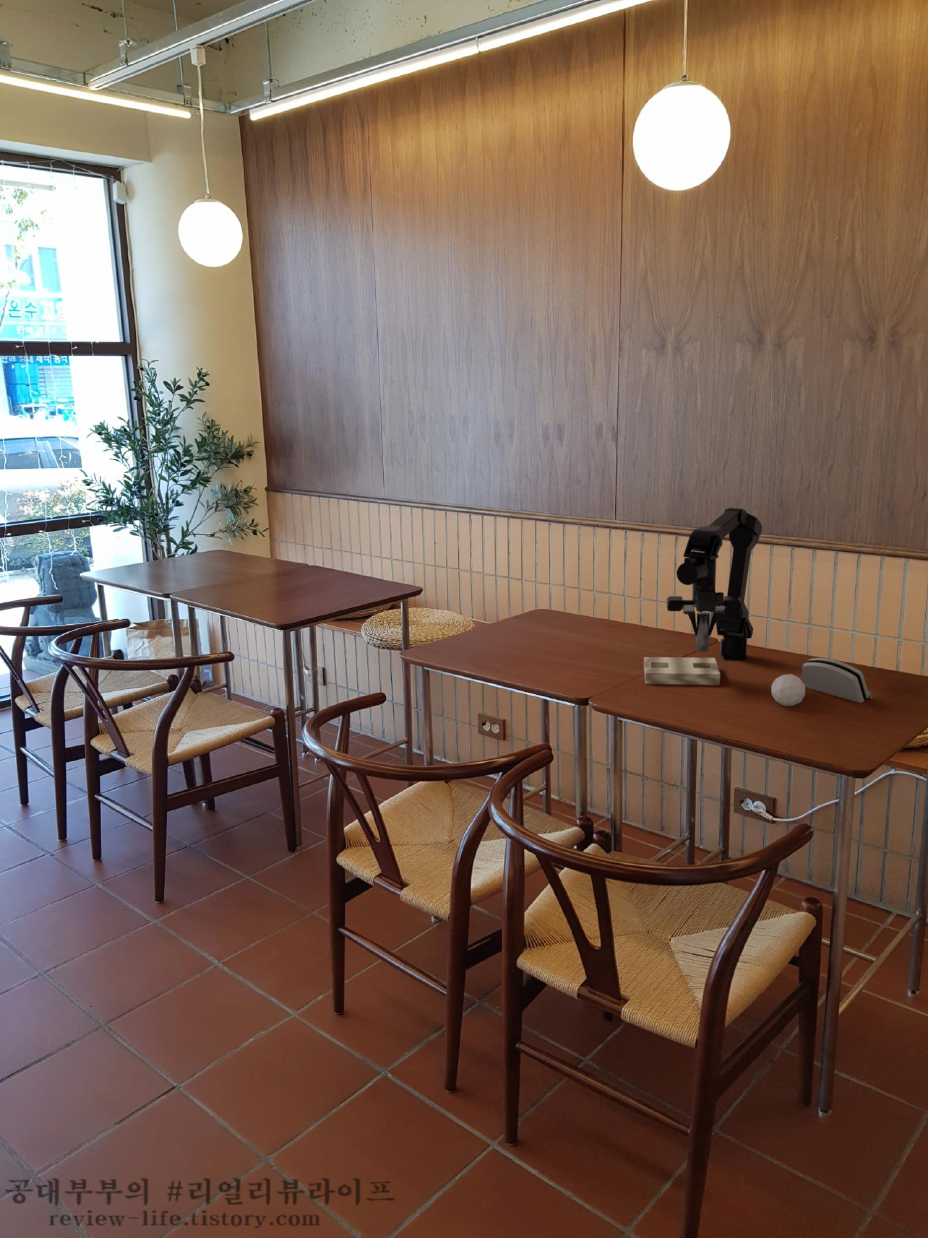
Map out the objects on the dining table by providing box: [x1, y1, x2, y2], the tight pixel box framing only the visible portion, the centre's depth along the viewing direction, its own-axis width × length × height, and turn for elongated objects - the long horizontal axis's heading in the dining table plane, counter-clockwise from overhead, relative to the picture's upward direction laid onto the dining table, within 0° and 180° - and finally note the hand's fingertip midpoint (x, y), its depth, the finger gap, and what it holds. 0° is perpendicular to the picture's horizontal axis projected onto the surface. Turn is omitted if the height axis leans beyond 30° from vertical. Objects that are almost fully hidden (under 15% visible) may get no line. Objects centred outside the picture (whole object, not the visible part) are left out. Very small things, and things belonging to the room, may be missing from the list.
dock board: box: [643, 656, 721, 686], centre depth 251 cm, size 19×14×3 cm
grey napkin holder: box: [801, 657, 873, 704], centre depth 233 cm, size 17×5×10 cm, turn 35°
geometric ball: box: [770, 673, 806, 707], centre depth 226 cm, size 8×8×8 cm
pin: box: [695, 611, 711, 653], centre depth 247 cm, size 3×3×10 cm
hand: (702, 635), depth 247 cm, fingers closed on pin, 3 cm apart
